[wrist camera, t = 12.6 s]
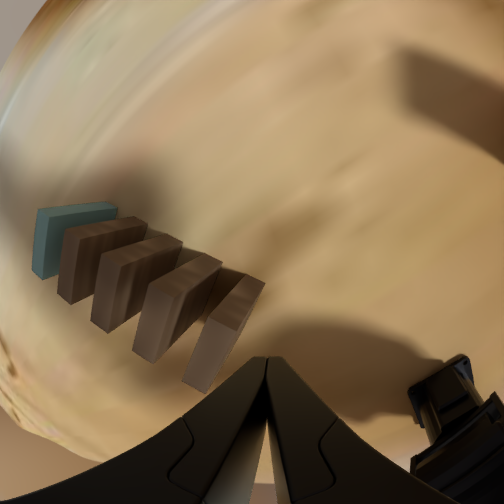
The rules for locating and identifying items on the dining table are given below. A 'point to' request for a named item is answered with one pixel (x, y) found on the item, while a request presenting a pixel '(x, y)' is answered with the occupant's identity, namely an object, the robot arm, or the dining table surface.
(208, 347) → the domino
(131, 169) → the dining table surface
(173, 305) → the domino
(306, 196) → the dining table surface
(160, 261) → the domino
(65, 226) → the end domino
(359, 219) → the dining table surface
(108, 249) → the domino
